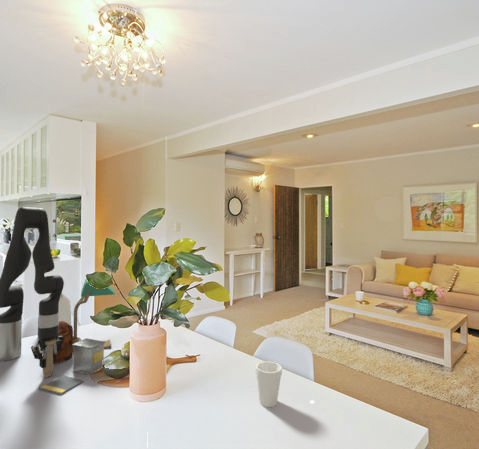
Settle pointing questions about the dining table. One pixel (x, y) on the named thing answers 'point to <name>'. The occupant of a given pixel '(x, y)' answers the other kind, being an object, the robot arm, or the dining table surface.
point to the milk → (64, 309)
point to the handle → (49, 358)
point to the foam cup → (268, 382)
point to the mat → (61, 385)
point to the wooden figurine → (65, 342)
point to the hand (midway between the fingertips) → (47, 365)
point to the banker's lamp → (85, 293)
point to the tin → (88, 356)
